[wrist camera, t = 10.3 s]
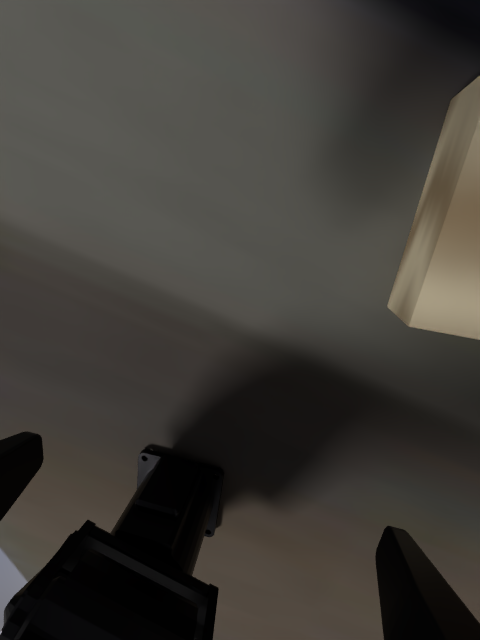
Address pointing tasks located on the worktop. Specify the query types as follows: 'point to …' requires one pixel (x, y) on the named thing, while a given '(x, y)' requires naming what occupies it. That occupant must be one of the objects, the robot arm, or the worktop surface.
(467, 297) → the birch block
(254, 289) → the worktop surface
